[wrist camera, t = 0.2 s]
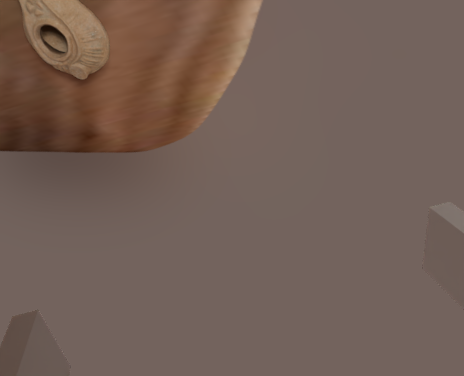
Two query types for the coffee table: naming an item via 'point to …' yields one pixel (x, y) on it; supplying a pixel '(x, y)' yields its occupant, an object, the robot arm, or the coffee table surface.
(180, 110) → the coffee table surface
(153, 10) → the coffee table surface
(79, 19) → the pottery oil lamp
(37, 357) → the robot arm
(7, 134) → the coffee table surface
